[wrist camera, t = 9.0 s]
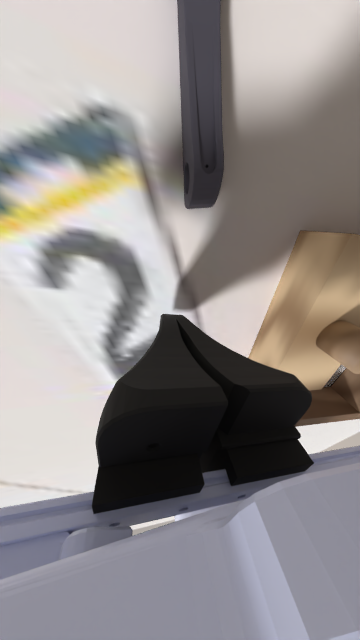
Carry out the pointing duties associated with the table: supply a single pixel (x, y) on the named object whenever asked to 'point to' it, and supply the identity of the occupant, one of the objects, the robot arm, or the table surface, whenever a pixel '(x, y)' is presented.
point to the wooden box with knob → (315, 310)
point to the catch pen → (335, 401)
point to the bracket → (201, 100)
